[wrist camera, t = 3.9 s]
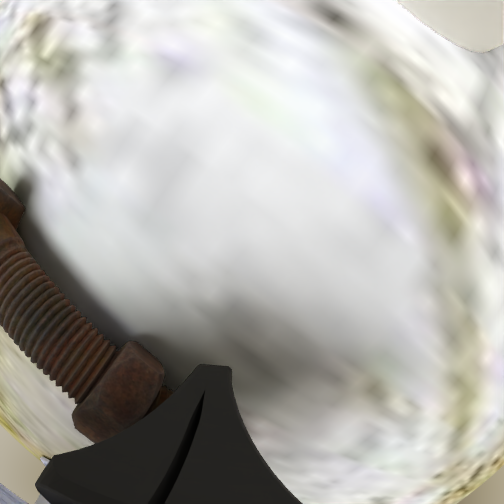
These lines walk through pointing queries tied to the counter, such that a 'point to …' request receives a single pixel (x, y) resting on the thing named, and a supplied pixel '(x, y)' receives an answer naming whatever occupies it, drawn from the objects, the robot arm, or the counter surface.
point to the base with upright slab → (462, 21)
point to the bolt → (72, 341)
